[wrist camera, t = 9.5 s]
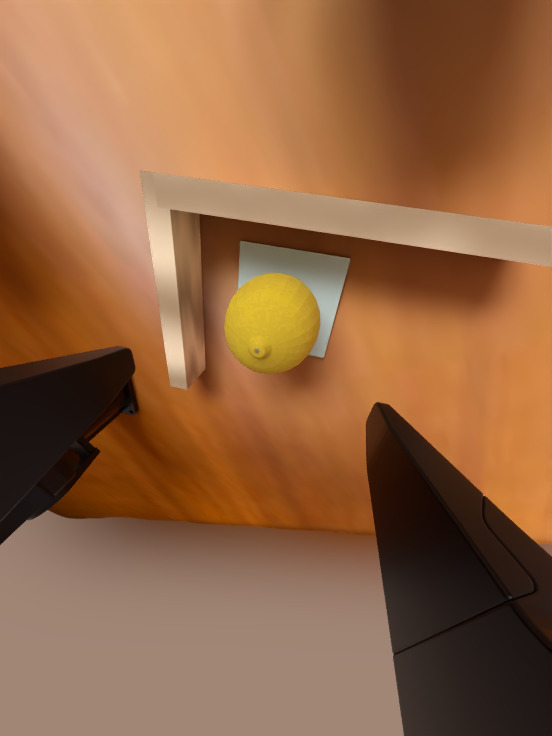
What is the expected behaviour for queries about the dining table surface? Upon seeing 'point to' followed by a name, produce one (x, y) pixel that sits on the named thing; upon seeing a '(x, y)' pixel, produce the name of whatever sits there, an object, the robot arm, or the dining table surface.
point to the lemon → (272, 323)
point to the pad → (300, 278)
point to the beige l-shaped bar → (303, 211)
